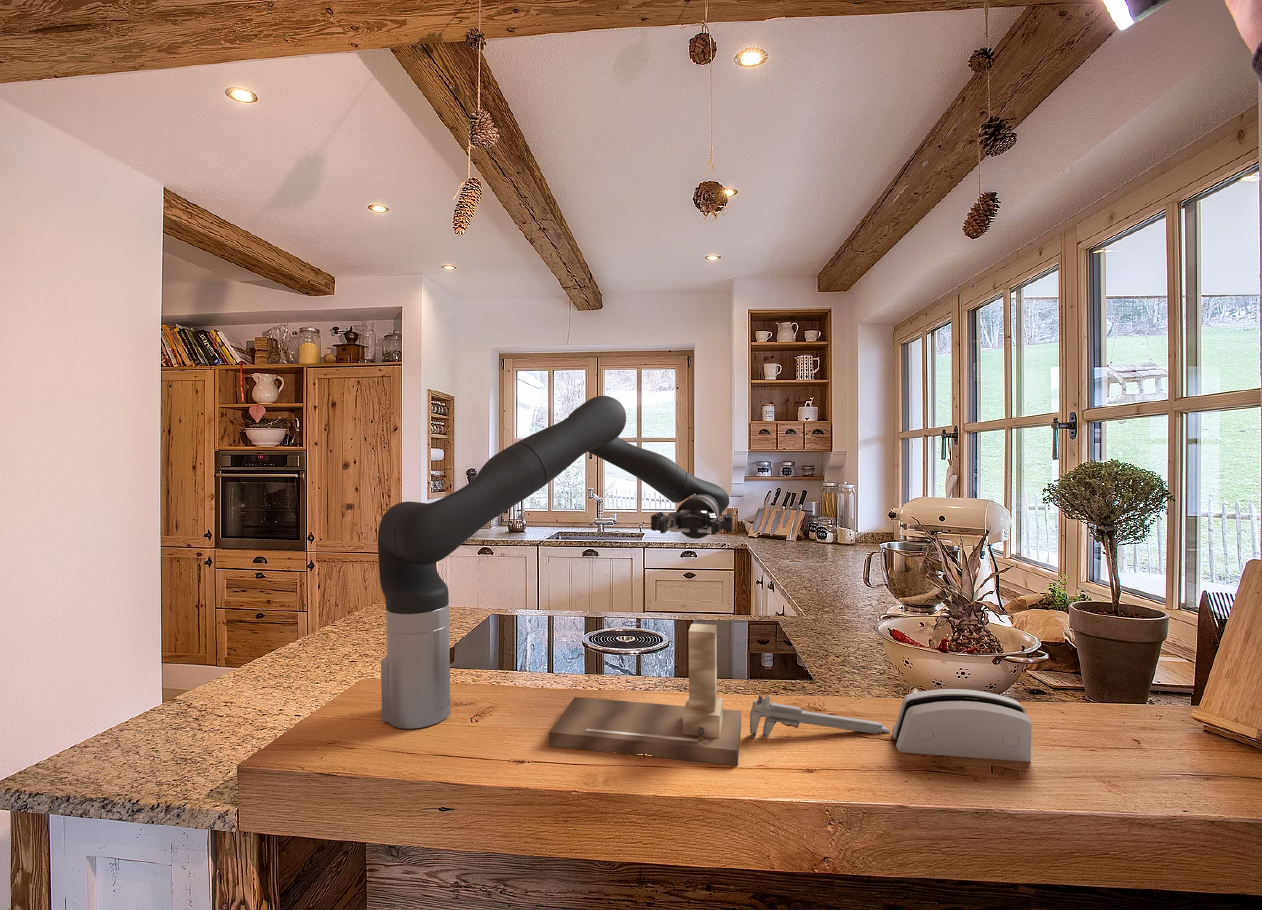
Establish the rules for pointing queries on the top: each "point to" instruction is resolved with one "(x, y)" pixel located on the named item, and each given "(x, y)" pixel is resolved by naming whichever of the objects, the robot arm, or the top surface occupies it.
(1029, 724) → the grey toaster
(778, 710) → the caliper
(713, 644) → the beige tall block
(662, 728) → the board
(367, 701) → the top surface
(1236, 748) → the top surface
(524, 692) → the top surface
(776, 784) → the top surface
